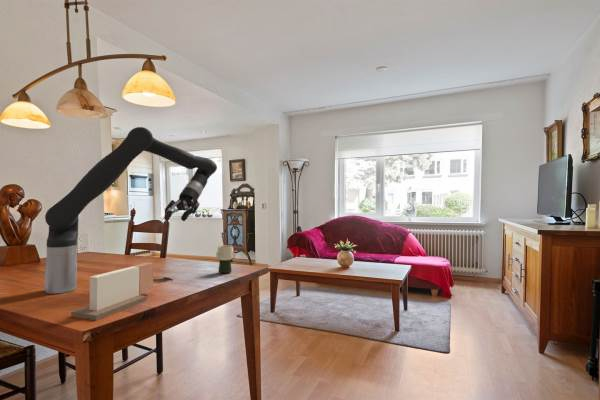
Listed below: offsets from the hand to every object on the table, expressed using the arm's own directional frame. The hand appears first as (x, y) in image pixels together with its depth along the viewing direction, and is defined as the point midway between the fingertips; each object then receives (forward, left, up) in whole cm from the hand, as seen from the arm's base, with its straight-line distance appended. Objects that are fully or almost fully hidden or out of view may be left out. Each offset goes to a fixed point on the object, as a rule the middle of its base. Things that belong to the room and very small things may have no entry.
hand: (174, 219), depth 126 cm
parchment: (-12, -4, -28) cm, 31 cm away
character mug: (+9, +26, -27) cm, 39 cm away
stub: (0, -16, -26) cm, 30 cm away
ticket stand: (0, -29, -27) cm, 39 cm away
